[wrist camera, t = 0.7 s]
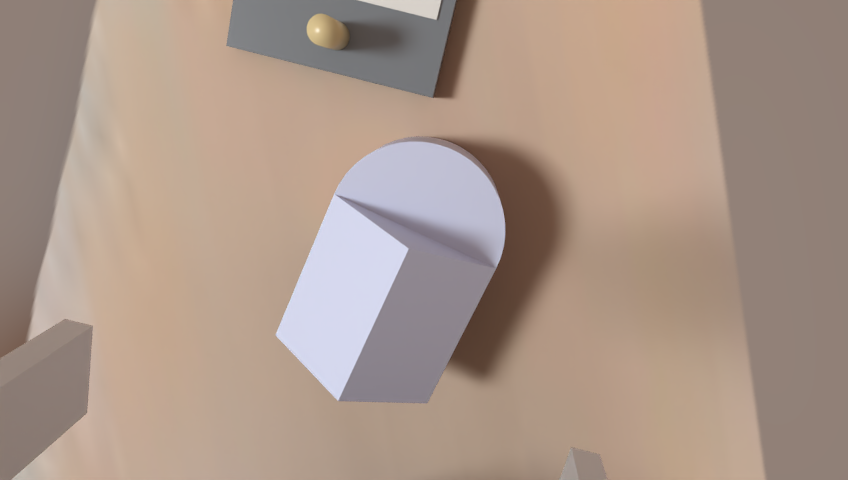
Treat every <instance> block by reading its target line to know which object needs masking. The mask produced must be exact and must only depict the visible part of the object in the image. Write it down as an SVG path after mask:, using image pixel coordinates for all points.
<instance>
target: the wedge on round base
mask: <svg viewBox="0 0 848 480" xmlns="http://www.w3.org/2000/svg"><path fill="white" fill-rule="evenodd" d="M504 241H505V219H504V213H503V208H502V204H501V201H500V197H499V194H498V191H497V188H496V186H495V184H494V181H493V179H492V177H491V176H490V174H489V173H488V171H487V170H486V168H485V167H484V166H483V165H482V164H481V163H480V162H479V160H478V159H476V158H475V157H474V156H473V155H472V154H471V153H469V152H468V151H466V150H465V149H463V148H462V147H460V146H458V145H456V144H454V143H451V142H449V141H446V140H442V139H439V138H433V137H419V136H416V137H408V138H403V139H399V140H395V141H392V142H390V143H388V144H385V145H383V146H382V147H380V148H378V149H377V150H375V151H373V152H372V153H370V154H368V155H367V156H365V157H364V158H362V159H361V160H360V161H359V162H357V163H356V164H355V165H354V166H353V167H352V168H351V169H350V170H349V171H348V172H347V173H346V175H345V176H344V178H343V179H342V181H341V182H340V184H339V186H338V188H337V190H336V192H335V194H334V196H333V198H332V201H331V203H330V205H329V208H328V210H327V213H326V215H325V217H324V220H323V222H322V225H321V227H320V229H319V232H318V234H317V237H316V239H315V242H314V244H313V246H312V249H311V251H310V254H309V256H308V258H307V261H306V263H305V266H304V268H303V270H302V273H301V275H300V278H299V280H298V282H297V285H296V287H295V290H294V292H293V294H292V297H291V299H290V302H289V304H288V306H287V309H286V311H285V314H284V316H283V318H282V321H281V323H280V326H279V328H278V330H277V333H276V336H277V337H278V338H279V339H280V340H281V341H282V343H283V344H284V345H285V346H286V347H287V348H288V349H289V350H290V351H291V352H292V353H293V354H294V355H295V356H296V357H297V358H298V359H299V360H300V361H301V362H302V364H303V365H304V366H305V367H306V368H307V369H308V370H309V371H310V372H311V373H312V374H313V375H314V376H315V377H316V378H317V379H318V380H319V381H320V382H321V383H322V385H323V386H324V387H325V388H326V389H327V390H328V391H329V392H330V393H331V394H332V395H333V396H334V397H335V398H336V399H337V400H338V401H359V402H397V403H428V401H429V399H430V397H431V395H432V393H433V391H434V389H435V387H436V385H437V383H438V381H439V379H440V377H441V375H442V373H443V371H444V369H445V367H446V366H447V364H448V362H449V360H450V358H451V356H452V354H453V352H454V350H455V348H456V346H457V344H458V342H459V340H460V338H461V336H462V334H463V332H464V330H465V328H466V326H467V325H468V323H469V321H470V319H471V317H472V315H473V313H474V311H475V309H476V307H477V305H478V303H479V301H480V299H481V297H482V295H483V293H484V291H485V289H486V287H487V285H488V284H489V282H490V280H491V278H492V276H493V274H494V272H495V270H496V268H497V265H498V263H499V261H500V258H501V255H502V251H503V248H504Z"/></svg>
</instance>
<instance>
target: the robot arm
mask: <svg viewBox="0 0 848 480" xmlns="http://www.w3.org/2000/svg"><path fill="white" fill-rule="evenodd" d="M92 330H93V326H91V325H87V324H83V323H79V322H75V321H71V320H67V319H65V320H63V321H61V322H60V323H58V324H56V325H55V326H53V327H51V328H50V329H48V330H46V331H45V332H43V333H41V334H40V335H38V336H37V337H35V338H33V339H32V340H30V341H28V342H27V343H25V344H23V345H22V346H20V347H18V348H17V349H15V350H13V351H12V352H10V353H8V354H7V355H5V356H3V357H2V358H0V480H11V479H12V478H13V477H15V476H16V475H17V474H18V473H19V472H20V471H21V470H23V469H24V468H25V467H26V466H27V465H28V464H29V463H31V462H32V461H33V460H34V459H35V458H36V457H37V456H38V455H40V454H41V453H42V452H43V451H44V450H45V449H46V448H48V447H49V446H50V445H51V444H52V443H53V442H54V441H56V440H57V439H58V438H59V437H60V436H61V435H62V434H64V433H65V432H66V431H67V430H68V429H69V428H70V427H72V426H73V425H74V424H75V423H76V422H77V421H78V420H79V419H81V418H82V417H83V416H84V415H85V414H86V413H87V405H88V390H89V375H90V360H91V345H92ZM560 480H608V479H607V476H606V473H605V470H604V467H603V463H602V460H601V457H600V454H596V453H592V452H588V451H584V450H580V449H576V448H572V447H571V449H570V452H569V455H568V458H567V460H566V463H565V466H564V469H563V472H562V474H561V477H560Z"/></svg>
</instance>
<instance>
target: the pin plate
mask: <svg viewBox="0 0 848 480" xmlns="http://www.w3.org/2000/svg"><path fill="white" fill-rule="evenodd" d="M456 3H457V0H233V5H232V12H231V19H230V26H229V33H228V39H227V46H229V47H233V48H237V49H241V50H245V51H249V52H253V53H257V54H261V55H265V56H269V57H273V58H277V59H281V60H285V61H289V62H293V63H297V64H301V65H305V66H309V67H313V68H317V69H321V70H325V71H329V72H333V73H337V74H341V75H345V76H348V77H352V78H356V79H360V80H364V81H368V82H372V83H376V84H380V85H384V86H388V87H392V88H396V89H400V90H404V91H408V92H412V93H416V94H420V95H424V96H428V97H432V98H434V94H435V90H436V86H437V82H438V77H439V73H440V69H441V65H442V61H443V57H444V53H445V48H446V44H447V40H448V36H449V32H450V28H451V23H452V19H453V15H454V11H455V7H456Z"/></svg>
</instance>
